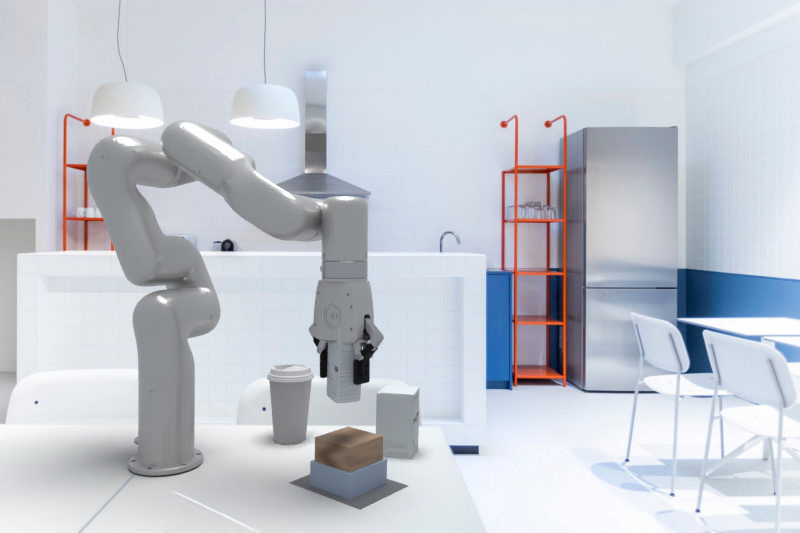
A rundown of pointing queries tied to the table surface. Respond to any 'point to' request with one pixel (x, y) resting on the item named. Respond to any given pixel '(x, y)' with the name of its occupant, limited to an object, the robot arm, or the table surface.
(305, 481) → the mat
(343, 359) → the skincare box
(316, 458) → the tower top
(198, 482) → the table surface
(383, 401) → the supplement box
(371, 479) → the tower base
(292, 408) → the coffee cup
